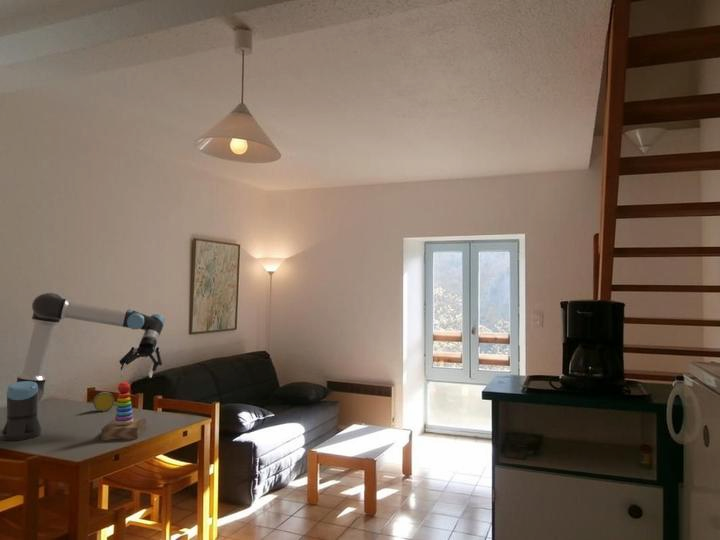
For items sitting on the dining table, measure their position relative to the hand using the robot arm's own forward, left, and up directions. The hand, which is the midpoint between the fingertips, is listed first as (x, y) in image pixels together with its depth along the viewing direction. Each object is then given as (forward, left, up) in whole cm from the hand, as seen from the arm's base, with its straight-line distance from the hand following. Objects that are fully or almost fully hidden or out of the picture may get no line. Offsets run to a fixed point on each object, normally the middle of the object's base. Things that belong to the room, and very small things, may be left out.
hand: (135, 376), depth 248 cm
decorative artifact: (-26, +39, -25) cm, 53 cm away
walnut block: (-2, -10, -25) cm, 27 cm away
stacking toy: (-2, -10, -20) cm, 22 cm away
